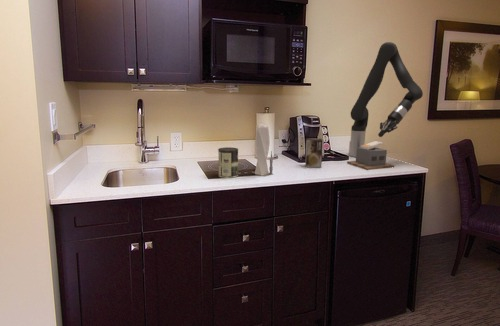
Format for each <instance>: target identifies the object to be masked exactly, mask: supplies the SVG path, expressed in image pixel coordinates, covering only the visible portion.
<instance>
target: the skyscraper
mask: <svg viewBox="0 0 500 326" xmlns="http://www.w3.org/2000/svg"><path fill="white" fill-rule="evenodd" d="M256 125H257V126H256V134H255V139H254V146H255V147H254V148H255V156H256V160H257V161H256V165H255V172H254V175H256V176H260V177H265V178H266V177H269V176H272V175H274V173H273V169H274V168H273V160H274V159H273V152H272V151H270V130H269V126H268V125H267V124H266V123H265V122H261V121H260V122H257V123H256ZM269 151H270V159H269V167H268V161H267V159H268V157H269V156H268V155H269Z"/></svg>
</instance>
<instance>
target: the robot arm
mask: <svg viewBox="0 0 500 326" xmlns="http://www.w3.org/2000/svg"><path fill="white" fill-rule="evenodd" d="M388 63H390V65H391V66H392V68H393V70H394V73H395V76H396V78H397V80H398V82H399V84H400V85H401V87H402V89H407V91H408V92H407V93H406V94H405V95H404V97H403V98H402V100H401V101H400V102H399V103H398V104H397V106H396V107H394V109H392V111H391V112H390V113H389V114H388V115H387V119H386V120H385V121H383V122H382V121H381V122H380V123H379V129H380V131H379V132H378V135H377V136H378V137H379V138H383V136H384V135H385V134H387V133H388V134H389V133H390V132H393V131H395V130H396V129H398V126H397V125H399V124H400V123H401V121H402V120H403V119H404V118H405V117H406V115H407V114H408V113H409V112H410V110H412V107H413V104H414V103H415V102H416V101H418V100H420V99H422V97H423V96H424V93H423V90H422V88H421V87H420V85H418V83H416V82H415V81H414V79H413V77H412V75H411V74H410V72H409V70H408V68H406V65H405V63H404V62H403V60H402V57H401V55H400V52H399V50H398V47H397V45H396V43H394V42H390V41H386V42H384V43H382V44H381V45H380V46H379V50H378V53H377V56H376V58H375V60H374V63H373V65H372V67H371V70H369V71H370V72H368V73H369V74H368V75H367V77H366V80H365V82H364V84H363V87H362V89H361V91H360V94H359V96H358V97H357V99H356V102H355V104H354V105H353V106H352V108H351V109H350V118H351V119H352V120H353V121H354V122H353V124H352V126H351V129H350V131H351V132H350V141H349V147H348V156H350V157H353V158H356V153H357V148H361V145H364V144H366V133H367V127H368V125H369V124H368V123H369V122H368V121H369V109H368V108H367V106H368V104H369V102H370V101H371V99H372V98H373V97H374V95H376V93H377V92H378V90H379V88H380V86H381V85H382V82H383V80H384V76H385V72H386V68H387V66H388Z"/></svg>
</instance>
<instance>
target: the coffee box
mask: <svg viewBox="0 0 500 326" xmlns="http://www.w3.org/2000/svg"><path fill="white" fill-rule="evenodd" d="M322 159H323V139H322V138H315V137H314V138H312V137H311V138H310V137H309V138H308V137H307V138H306V139H305V164H304V165H305V168H322V166H323V165H322V163H323V161H322Z"/></svg>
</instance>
